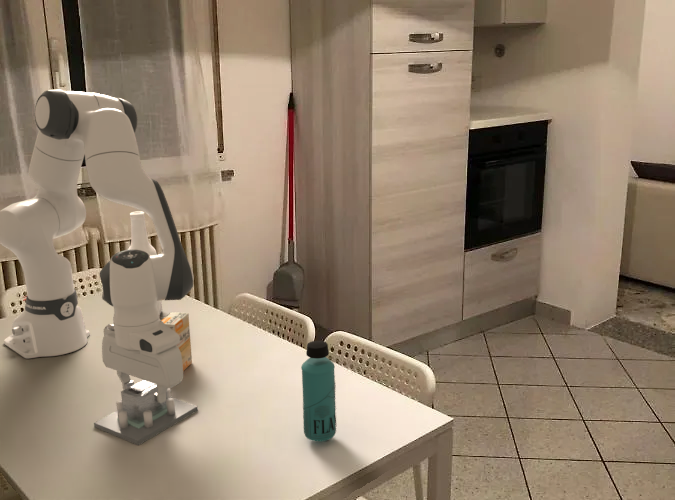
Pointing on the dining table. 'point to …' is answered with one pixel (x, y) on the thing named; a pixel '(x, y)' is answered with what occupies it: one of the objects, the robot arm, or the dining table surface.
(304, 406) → the beverage bottle
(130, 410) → the block
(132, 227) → the alcohol
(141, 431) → the pin tray
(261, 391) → the dining table surface
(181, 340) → the supplement box
